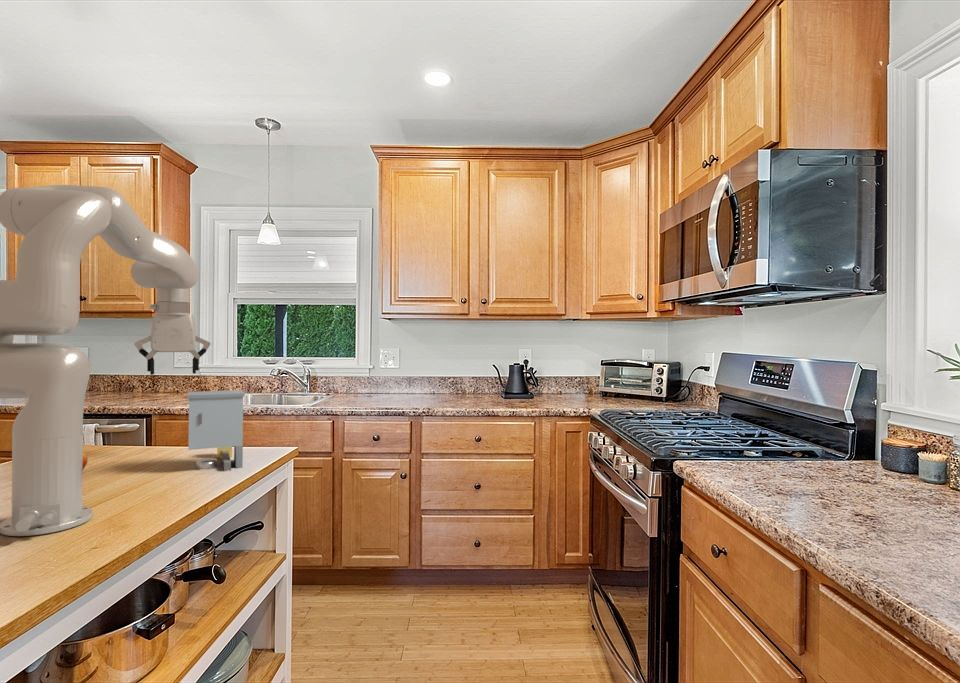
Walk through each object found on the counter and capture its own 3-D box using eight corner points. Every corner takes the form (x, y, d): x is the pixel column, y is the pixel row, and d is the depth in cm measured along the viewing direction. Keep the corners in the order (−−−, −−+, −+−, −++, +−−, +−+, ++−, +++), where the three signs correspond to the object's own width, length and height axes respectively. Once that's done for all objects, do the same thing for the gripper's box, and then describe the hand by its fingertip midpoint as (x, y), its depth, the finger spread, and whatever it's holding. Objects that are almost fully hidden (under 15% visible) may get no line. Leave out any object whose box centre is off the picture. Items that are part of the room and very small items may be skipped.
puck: (216, 469, 130) (216, 461, 130) (196, 471, 128) (196, 462, 128) (216, 465, 134) (216, 457, 134) (196, 466, 132) (196, 459, 132)
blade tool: (235, 470, 129) (235, 441, 129) (219, 471, 127) (219, 443, 127) (231, 454, 145) (231, 429, 145) (217, 455, 144) (217, 430, 144)
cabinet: (243, 467, 131) (244, 393, 131) (186, 473, 125) (187, 395, 125) (241, 460, 139) (242, 390, 139) (187, 465, 133) (188, 391, 133)
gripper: (133, 308, 130) (133, 376, 130) (211, 310, 139) (210, 374, 139) (135, 308, 136) (135, 373, 137) (209, 310, 145) (209, 371, 146)
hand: (173, 373), depth 138 cm, fingers open, 9 cm apart
